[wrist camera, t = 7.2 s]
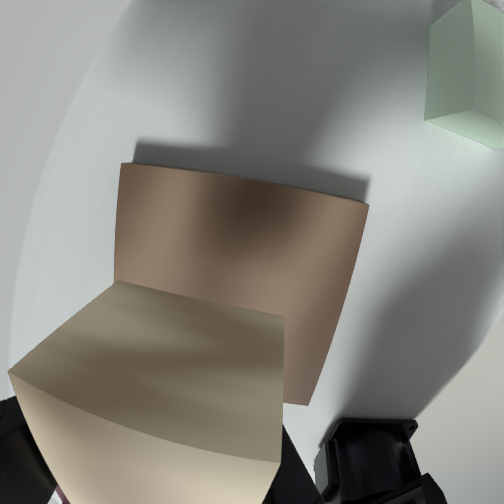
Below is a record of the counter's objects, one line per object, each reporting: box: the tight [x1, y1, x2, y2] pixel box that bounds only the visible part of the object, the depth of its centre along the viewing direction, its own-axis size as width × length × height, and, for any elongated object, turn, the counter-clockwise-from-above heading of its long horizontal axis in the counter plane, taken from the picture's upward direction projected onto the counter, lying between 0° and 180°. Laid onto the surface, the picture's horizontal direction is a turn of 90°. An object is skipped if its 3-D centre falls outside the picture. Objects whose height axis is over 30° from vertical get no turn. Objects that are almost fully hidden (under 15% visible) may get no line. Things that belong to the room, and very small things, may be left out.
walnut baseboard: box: [114, 163, 369, 406], centre depth 16 cm, size 12×12×1 cm
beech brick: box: [8, 280, 284, 504], centre depth 7 cm, size 5×6×5 cm
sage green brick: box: [424, 0, 504, 150], centre depth 10 cm, size 5×6×5 cm
